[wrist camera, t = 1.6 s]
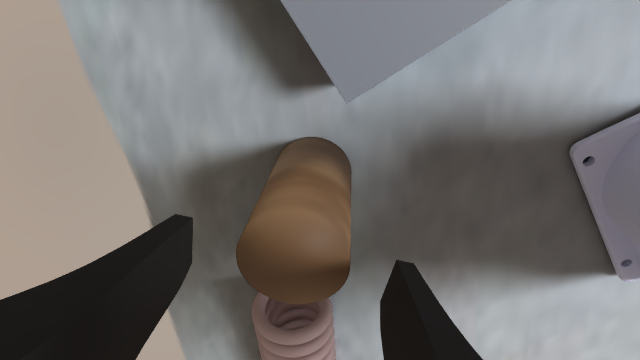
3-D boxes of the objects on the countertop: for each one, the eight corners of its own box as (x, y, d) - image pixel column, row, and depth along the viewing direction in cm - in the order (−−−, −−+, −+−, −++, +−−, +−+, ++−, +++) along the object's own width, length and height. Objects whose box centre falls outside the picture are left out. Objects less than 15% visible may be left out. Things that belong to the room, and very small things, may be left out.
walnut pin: (365, 183, 18) (371, 279, 12) (304, 216, 19) (281, 317, 13) (323, 122, 17) (306, 194, 11) (260, 161, 18) (213, 245, 12)
